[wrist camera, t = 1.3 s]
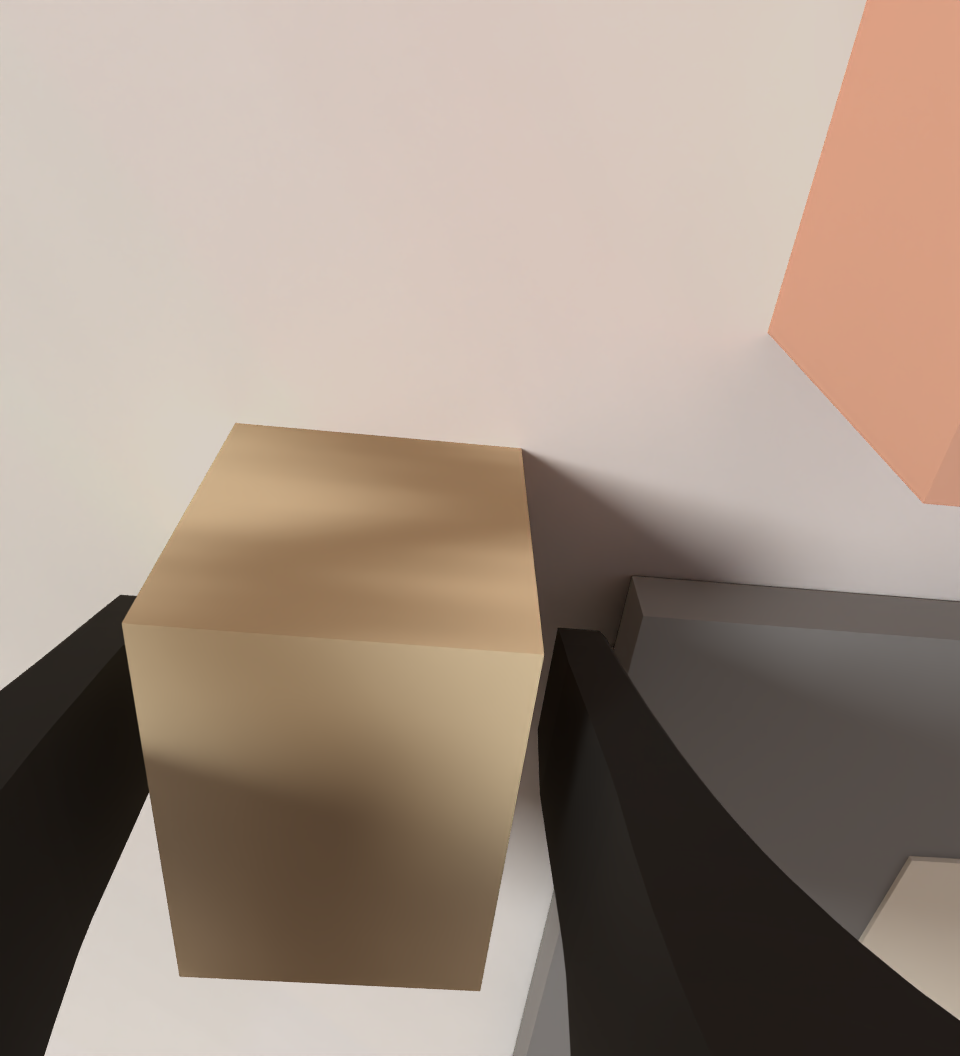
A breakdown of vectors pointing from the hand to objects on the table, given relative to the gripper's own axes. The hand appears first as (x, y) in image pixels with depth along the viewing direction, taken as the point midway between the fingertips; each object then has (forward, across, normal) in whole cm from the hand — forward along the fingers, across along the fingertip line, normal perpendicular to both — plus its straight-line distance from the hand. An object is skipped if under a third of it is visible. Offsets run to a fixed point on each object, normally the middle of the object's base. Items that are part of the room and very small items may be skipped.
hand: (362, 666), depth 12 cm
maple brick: (+2, 0, 0) cm, 2 cm away
